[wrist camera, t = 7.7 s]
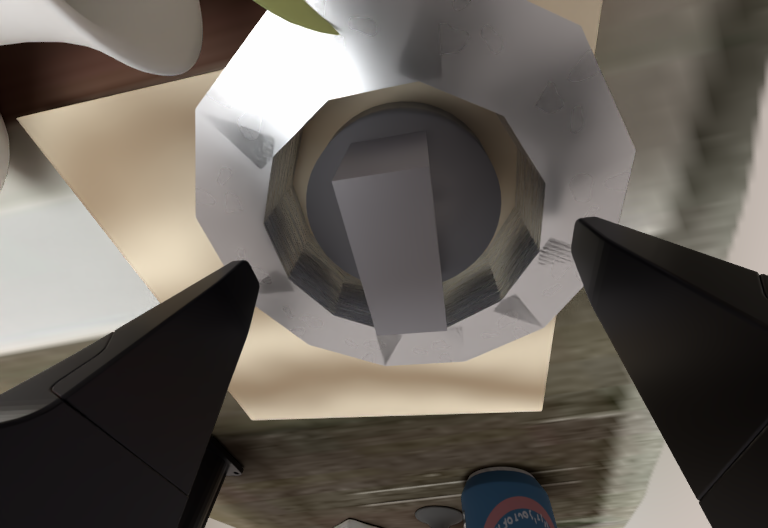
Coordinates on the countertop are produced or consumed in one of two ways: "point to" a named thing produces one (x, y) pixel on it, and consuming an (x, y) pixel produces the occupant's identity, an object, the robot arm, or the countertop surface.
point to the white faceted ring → (449, 74)
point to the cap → (404, 209)
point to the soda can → (505, 500)
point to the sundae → (439, 516)
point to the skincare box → (354, 524)
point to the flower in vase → (127, 32)
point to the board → (199, 259)
